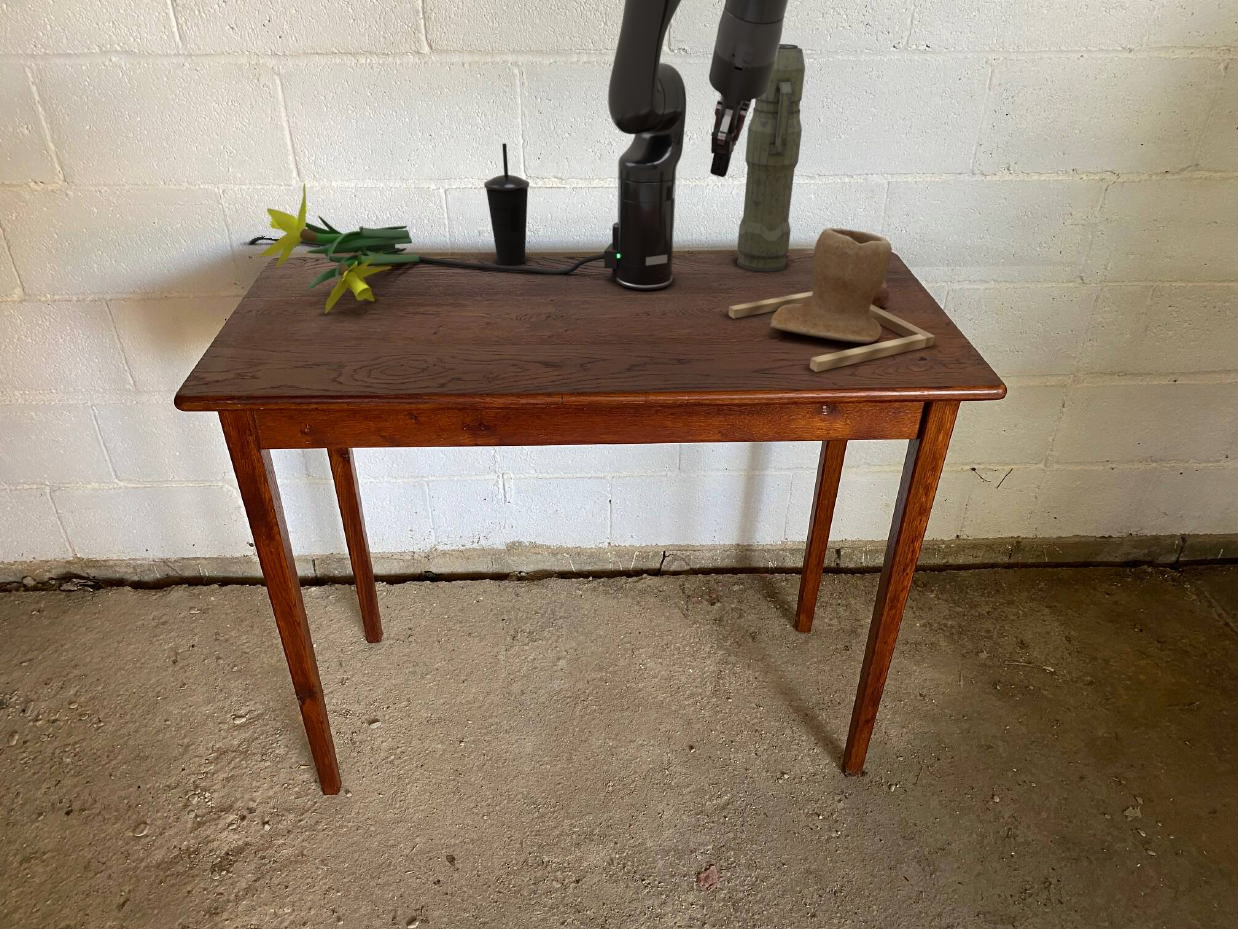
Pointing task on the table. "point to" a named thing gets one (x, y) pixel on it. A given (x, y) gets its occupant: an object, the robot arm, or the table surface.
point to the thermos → (772, 165)
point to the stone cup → (840, 288)
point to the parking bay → (911, 341)
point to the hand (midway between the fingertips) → (718, 172)
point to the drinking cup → (508, 214)
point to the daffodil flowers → (341, 250)
